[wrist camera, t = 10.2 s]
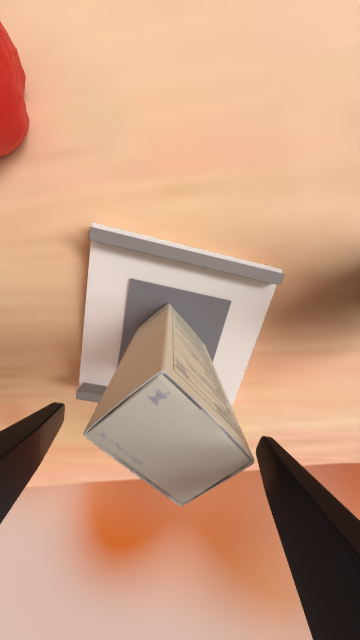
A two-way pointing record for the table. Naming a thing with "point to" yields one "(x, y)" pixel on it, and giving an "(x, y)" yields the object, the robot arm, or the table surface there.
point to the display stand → (180, 292)
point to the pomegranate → (11, 96)
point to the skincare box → (170, 413)
